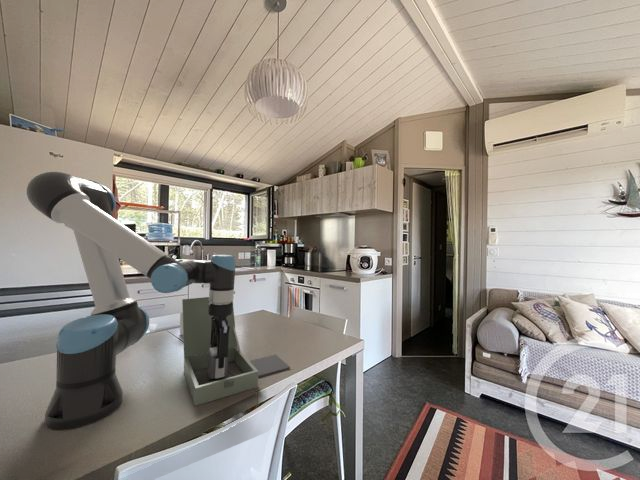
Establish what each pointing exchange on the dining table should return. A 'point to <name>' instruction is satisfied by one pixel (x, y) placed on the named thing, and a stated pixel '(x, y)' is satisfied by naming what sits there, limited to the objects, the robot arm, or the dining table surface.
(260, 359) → the mat
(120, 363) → the dining table surface
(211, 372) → the block
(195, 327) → the case
